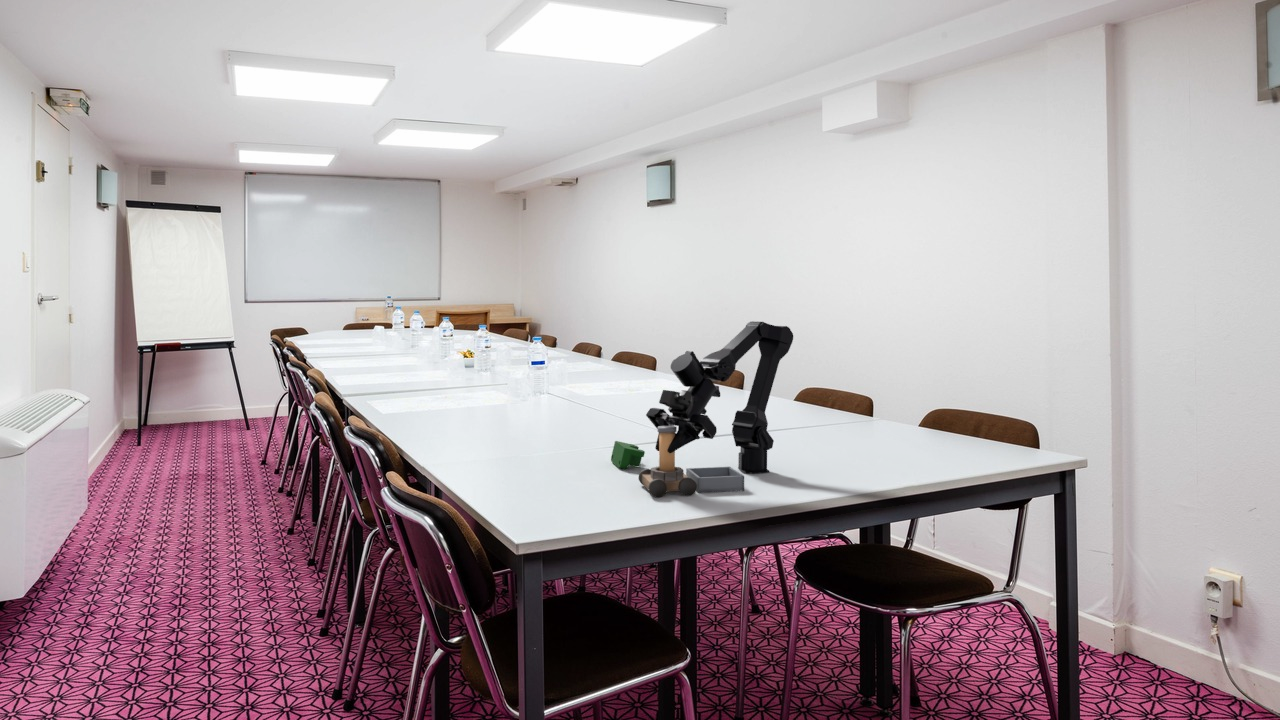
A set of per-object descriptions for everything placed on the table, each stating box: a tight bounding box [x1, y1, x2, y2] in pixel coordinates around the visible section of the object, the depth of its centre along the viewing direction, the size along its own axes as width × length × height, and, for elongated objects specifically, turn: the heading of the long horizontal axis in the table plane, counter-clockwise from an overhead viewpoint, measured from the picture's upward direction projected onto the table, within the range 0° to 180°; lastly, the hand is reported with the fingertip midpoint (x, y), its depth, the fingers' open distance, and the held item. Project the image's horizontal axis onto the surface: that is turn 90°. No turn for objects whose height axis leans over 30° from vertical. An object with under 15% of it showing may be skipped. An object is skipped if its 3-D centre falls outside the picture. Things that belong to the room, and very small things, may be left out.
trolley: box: [638, 465, 697, 498], centre depth 192 cm, size 11×12×5 cm
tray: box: [685, 466, 745, 494], centre depth 196 cm, size 11×11×4 cm
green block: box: [610, 440, 646, 470], centre depth 221 cm, size 12×6×9 cm, turn 8°
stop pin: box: [657, 425, 678, 472], centre depth 191 cm, size 4×4×11 cm
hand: (662, 451), depth 190 cm, fingers closed on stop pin, 4 cm apart
